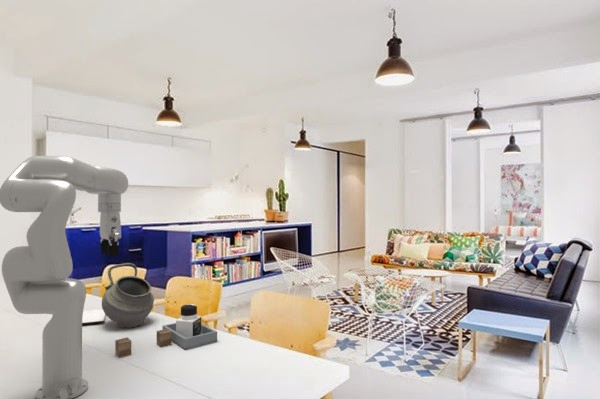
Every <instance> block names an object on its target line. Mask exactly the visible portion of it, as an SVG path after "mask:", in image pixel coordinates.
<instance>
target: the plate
mask: <svg viewBox="0 0 600 399" xmlns="http://www.w3.org/2000/svg"><path fill="white" fill-rule="evenodd" d="M105 318H106V314H105V313H104V311H103V309H102V308H101V309H92V310H83V317H82V326H85V325H96V324H100V323H103V322H104V321H105Z"/></svg>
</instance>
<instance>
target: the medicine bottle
mask: <svg viewBox="0 0 600 399" xmlns="http://www.w3.org/2000/svg"><path fill="white" fill-rule="evenodd" d="M175 323H176V332H177V333H179V334H180V335H182V336H184V337H185V338H188V337H193V336H197V335H200V334H201V324H202V316H201V315H198V306H197V305H195V304H192V303H191V304H190V303H189V304H188V303H187V304H183V305H182V306H180V317H179V318H178V319H176V320H175Z"/></svg>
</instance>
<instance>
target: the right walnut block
mask: <svg viewBox="0 0 600 399" xmlns="http://www.w3.org/2000/svg"><path fill="white" fill-rule="evenodd" d="M156 345H157V346H158V347H160V348H164V346H165V347H168V345H169V346H172V341H171V331H170V330H168V329H163V330H162V329H160V330H159V329H158V330H156Z"/></svg>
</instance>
